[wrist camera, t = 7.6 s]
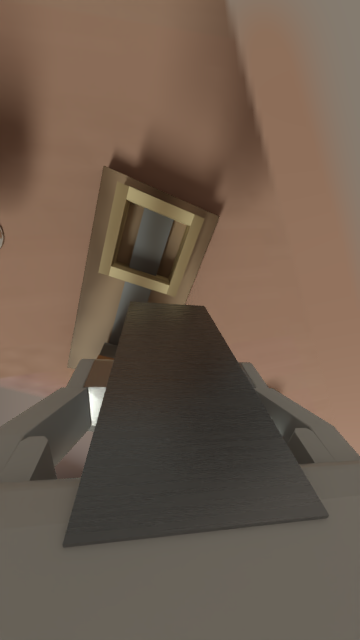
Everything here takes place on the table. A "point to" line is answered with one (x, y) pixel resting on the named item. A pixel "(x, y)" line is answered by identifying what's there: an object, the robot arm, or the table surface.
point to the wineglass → (1, 237)
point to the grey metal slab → (183, 440)
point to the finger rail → (135, 259)
